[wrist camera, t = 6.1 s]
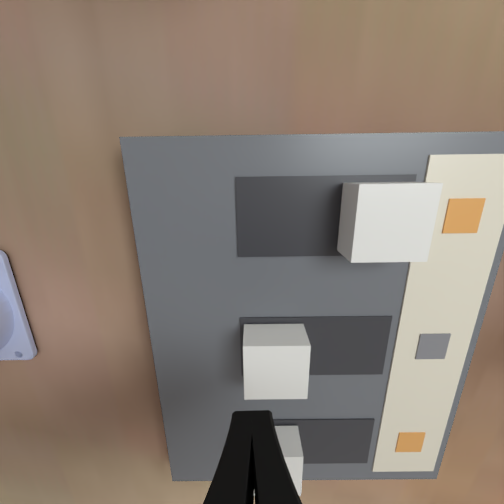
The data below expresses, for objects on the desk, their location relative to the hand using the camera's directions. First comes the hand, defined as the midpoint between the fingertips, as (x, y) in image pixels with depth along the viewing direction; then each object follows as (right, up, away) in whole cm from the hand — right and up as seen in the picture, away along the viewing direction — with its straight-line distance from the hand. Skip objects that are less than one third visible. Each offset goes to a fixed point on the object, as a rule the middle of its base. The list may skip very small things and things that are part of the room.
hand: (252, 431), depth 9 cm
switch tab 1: (+1, +1, +6) cm, 6 cm away
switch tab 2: (+6, +8, +4) cm, 11 cm away
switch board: (+4, +1, +8) cm, 9 cm away
